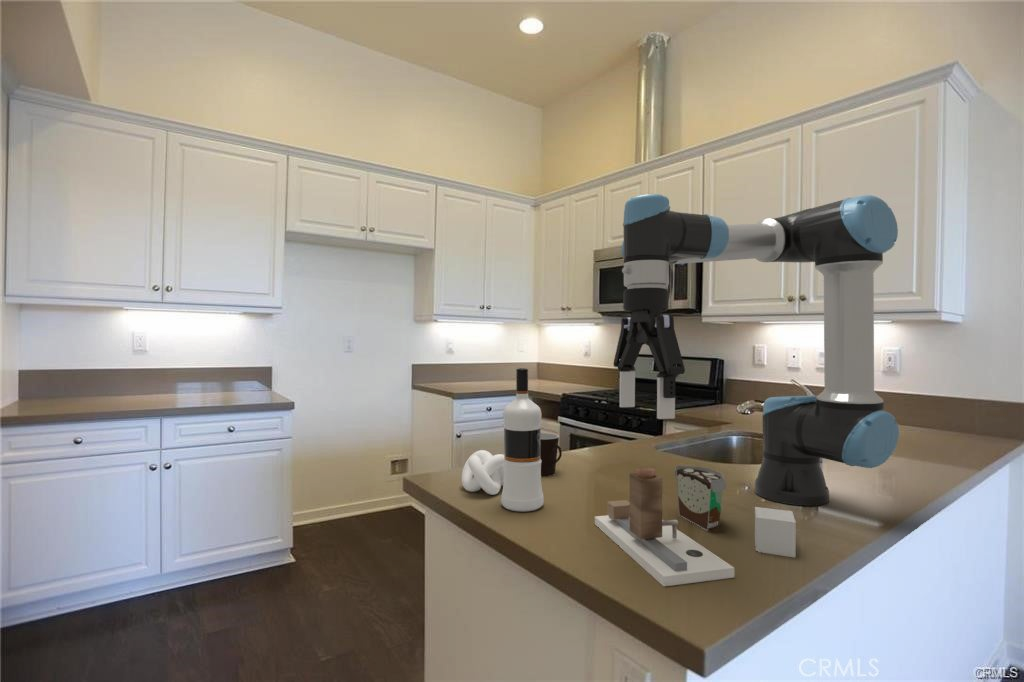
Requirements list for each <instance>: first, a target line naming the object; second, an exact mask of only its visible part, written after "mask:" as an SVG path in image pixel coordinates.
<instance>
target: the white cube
mask: <svg viewBox="0 0 1024 682" xmlns="http://www.w3.org/2000/svg"><path fill="white" fill-rule="evenodd" d="M796 523H797V522H796V519H795V517H794V513H793V510H786V509H785V510H784V509H776V508H768V507H761V506H760V507H759V506H754V545H755V546H756V547H755V546H754V547H755V552H756V551H758V552H757V553H761V552H762V553H763V554H770V555H775V556H782V557H783V556H784V557H790V558H796V545H797V544H796V543H797V542H796V541H797V539H796V538H797V537H796V536H797V533H796V529H797V526H796Z"/></svg>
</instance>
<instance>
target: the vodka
mask: <svg viewBox="0 0 1024 682" xmlns="http://www.w3.org/2000/svg"><path fill="white" fill-rule="evenodd" d="M515 372H516V375H515V376H516V377H515V378H516V379H515V380H516V381H515V382H516V384H515V385H516V388H515V389H516V391H515V393H516V395H515V396H516V397H515V399H513V400H512V401H511V402H510V403H508V404H507V405H506V406H504V409H503V412H502V417H503V425H502V426H503V455H504V460H503V463H504V482H503V483H502V486H503V487H502V493H501V496H500V499H501V500H500V501H501V505H502V506H503V508H505V509H507V510H508V511H512V512H519V513H520V512H521V513H523V512H524V513H527V512H534V511H537V510H539V509H540V508H542V507H543V505H544V502H545V500H544V499H545V496H544V493H543V487H542V476H541V462H542V461H541V433H542V432H541V428H542V410H541V408H540V406H539V405H537V403H535V402H533V400H532V399H530V398H529V369H528V368H525V367H520V368H516V370H515Z"/></svg>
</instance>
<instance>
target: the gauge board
mask: <svg viewBox="0 0 1024 682" xmlns="http://www.w3.org/2000/svg"><path fill="white" fill-rule="evenodd" d="M662 521H665V520H664V519H662ZM594 525H595V526H596V527H599V529H600V530H601V531H602V532H603V533H604V534H605V535H606V536H607V537H608V538H610V539H611V541H613V542H614V543H615V544H616V545H617V546H618V545H619V546H618V547H620V548H621V550H623V551H624V552H625V553H626V555H628V556H629V557H630V558H632V560H634V561H635V563H637V564H638V565H639V566H641V567H642V568H643V570H645V571H646V572H647V573H648V574H649V575H650V576H651V577H652V578H654V579H655V580H656V582H658V583H659V584H660V585H661V586H663V587H669V586H670V587H671V586H677V585H679V586H680V585H685V584H692V583H701V582H708V581H709V582H710V581H716V580H718V581H719V580H724V579H725V580H726V579H732V578H735V566H733V565H731V564H729V563H728V562H727V561H725V560H723V559H722V558H721V557H719V556H717V554H715V553H713V552H711V550H709V549H707V548H705V546H703V545H701V544H699V543H698V542H696V541H695V540H694V539H692V538H691V537H690V536H688V535H687V534H685V533H683V532H682V531H680V530H678V529H677V538H676V539H674V538H672V525H669V526H662V537H659V538H649V539H640V538H638V537H637V536H636V535H635V534H633V533H632V532H631V531H630V501H629V500H627V499H624V500H623V499H621V500H612V501H611V500H610V501H606V515H597V516H596V515H595V516H594Z"/></svg>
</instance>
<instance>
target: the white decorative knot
mask: <svg viewBox="0 0 1024 682" xmlns="http://www.w3.org/2000/svg"><path fill="white" fill-rule="evenodd" d="M503 460H504V453H501V454H494V455H493V454H492V453H491V452H489V451H488V450H484V449H480V450H477V451H475V452H473V453H472V454H471V455H470V456H469V457H468V459H467V460H466V461H465V464H464V466H463V468H462V472H461V484H462V486H463V488H464V489H465V490H466V491H468V492H469V493H470V492H471V493H474V492H478V491H479V490H481V489H482V490H483V491H484V492H485V493H486V494H488V495H492V496H495V495H497V494H499V492H500V491H501V487H502V484H503V483H504V463H503Z"/></svg>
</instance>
